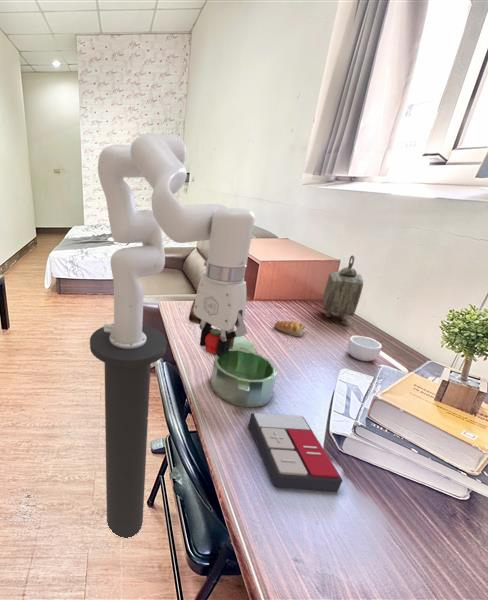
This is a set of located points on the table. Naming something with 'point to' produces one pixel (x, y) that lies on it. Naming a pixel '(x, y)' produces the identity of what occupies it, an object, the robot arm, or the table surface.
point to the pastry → (290, 327)
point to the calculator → (293, 453)
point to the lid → (241, 344)
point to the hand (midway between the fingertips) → (213, 348)
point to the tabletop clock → (343, 292)
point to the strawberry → (212, 340)
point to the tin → (243, 378)
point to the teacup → (363, 348)
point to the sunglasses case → (193, 315)
